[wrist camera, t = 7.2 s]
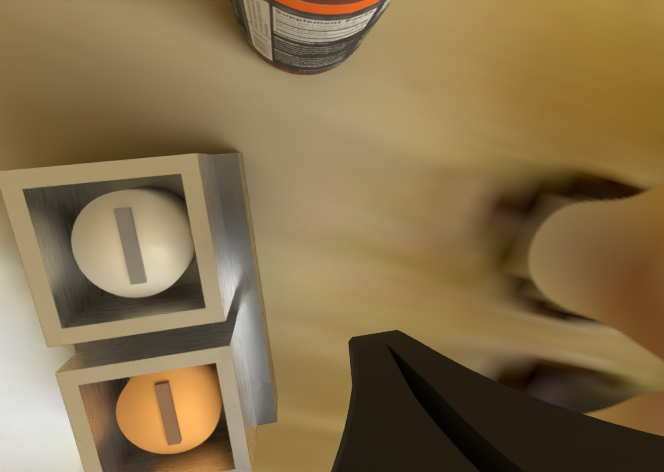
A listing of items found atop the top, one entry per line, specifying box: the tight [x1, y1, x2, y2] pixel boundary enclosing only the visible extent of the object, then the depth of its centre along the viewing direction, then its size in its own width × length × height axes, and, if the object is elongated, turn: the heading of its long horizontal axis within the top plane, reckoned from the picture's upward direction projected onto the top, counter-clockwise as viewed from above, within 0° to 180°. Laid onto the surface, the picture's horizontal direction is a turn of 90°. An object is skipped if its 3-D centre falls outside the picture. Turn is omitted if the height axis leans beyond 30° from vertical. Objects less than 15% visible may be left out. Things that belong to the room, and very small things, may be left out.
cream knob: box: [71, 187, 196, 298], centre depth 14 cm, size 4×4×2 cm
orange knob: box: [116, 363, 223, 454], centre depth 15 cm, size 4×4×2 cm
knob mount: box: [0, 152, 277, 472], centre depth 15 cm, size 13×8×5 cm, turn 4°
